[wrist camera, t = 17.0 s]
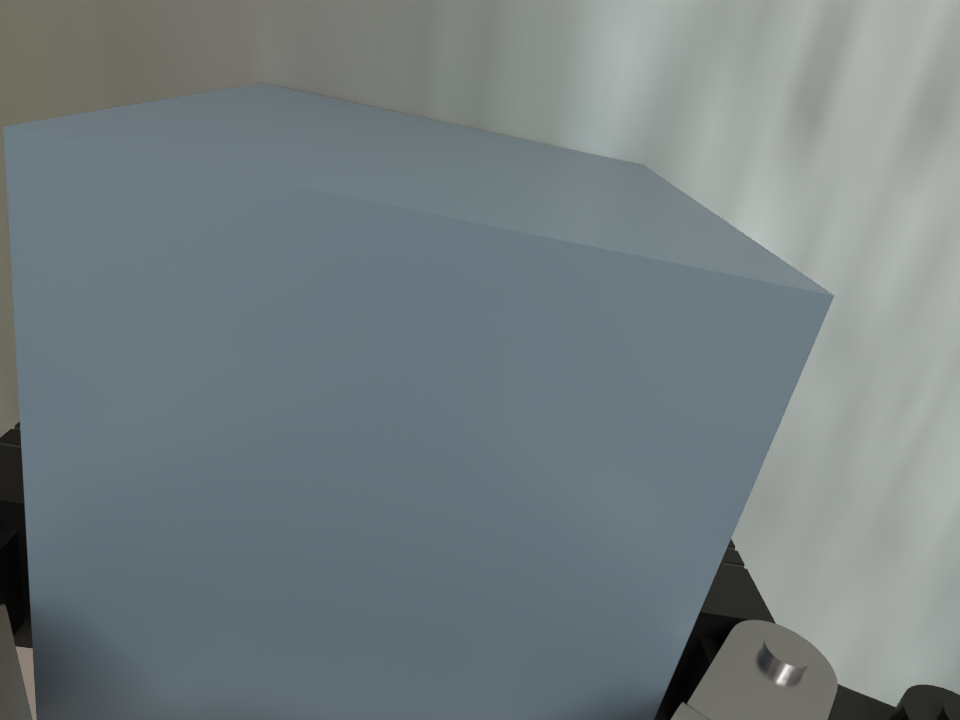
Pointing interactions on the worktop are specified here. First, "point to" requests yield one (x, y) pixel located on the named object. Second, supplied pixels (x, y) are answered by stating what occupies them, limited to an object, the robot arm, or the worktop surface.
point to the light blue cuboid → (375, 413)
